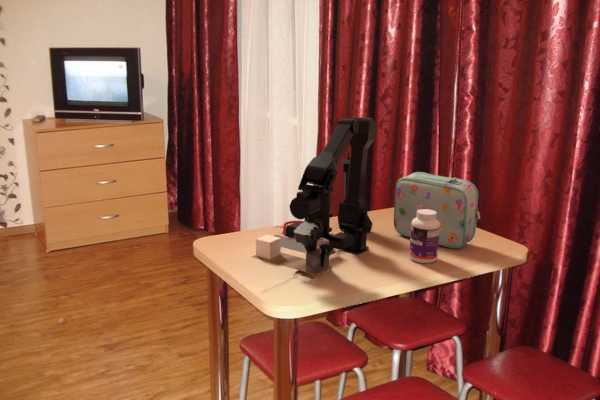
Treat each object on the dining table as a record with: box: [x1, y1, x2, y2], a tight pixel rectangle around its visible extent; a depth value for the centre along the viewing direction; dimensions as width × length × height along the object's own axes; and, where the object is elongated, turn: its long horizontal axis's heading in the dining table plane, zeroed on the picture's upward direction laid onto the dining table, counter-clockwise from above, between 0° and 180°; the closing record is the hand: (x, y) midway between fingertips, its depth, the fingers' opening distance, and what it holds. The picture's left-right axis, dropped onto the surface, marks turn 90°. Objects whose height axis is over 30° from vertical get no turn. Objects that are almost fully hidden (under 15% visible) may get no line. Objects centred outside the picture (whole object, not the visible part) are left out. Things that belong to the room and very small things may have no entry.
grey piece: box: [273, 232, 336, 256], centre depth 189 cm, size 22×8×6 cm, turn 54°
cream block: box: [255, 234, 282, 259], centre depth 181 cm, size 5×5×5 cm
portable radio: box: [340, 151, 351, 231], centre depth 207 cm, size 8×6×25 cm
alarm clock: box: [276, 220, 304, 239], centre depth 201 cm, size 10×6×15 cm
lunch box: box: [393, 171, 481, 249], centre depth 197 cm, size 27×10×21 cm, turn 50°
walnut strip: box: [251, 247, 333, 279], centre depth 176 cm, size 22×8×6 cm, turn 55°
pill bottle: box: [408, 209, 440, 264], centre depth 181 cm, size 8×8×14 cm
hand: (317, 265), depth 171 cm, fingers closed on walnut strip, 3 cm apart
